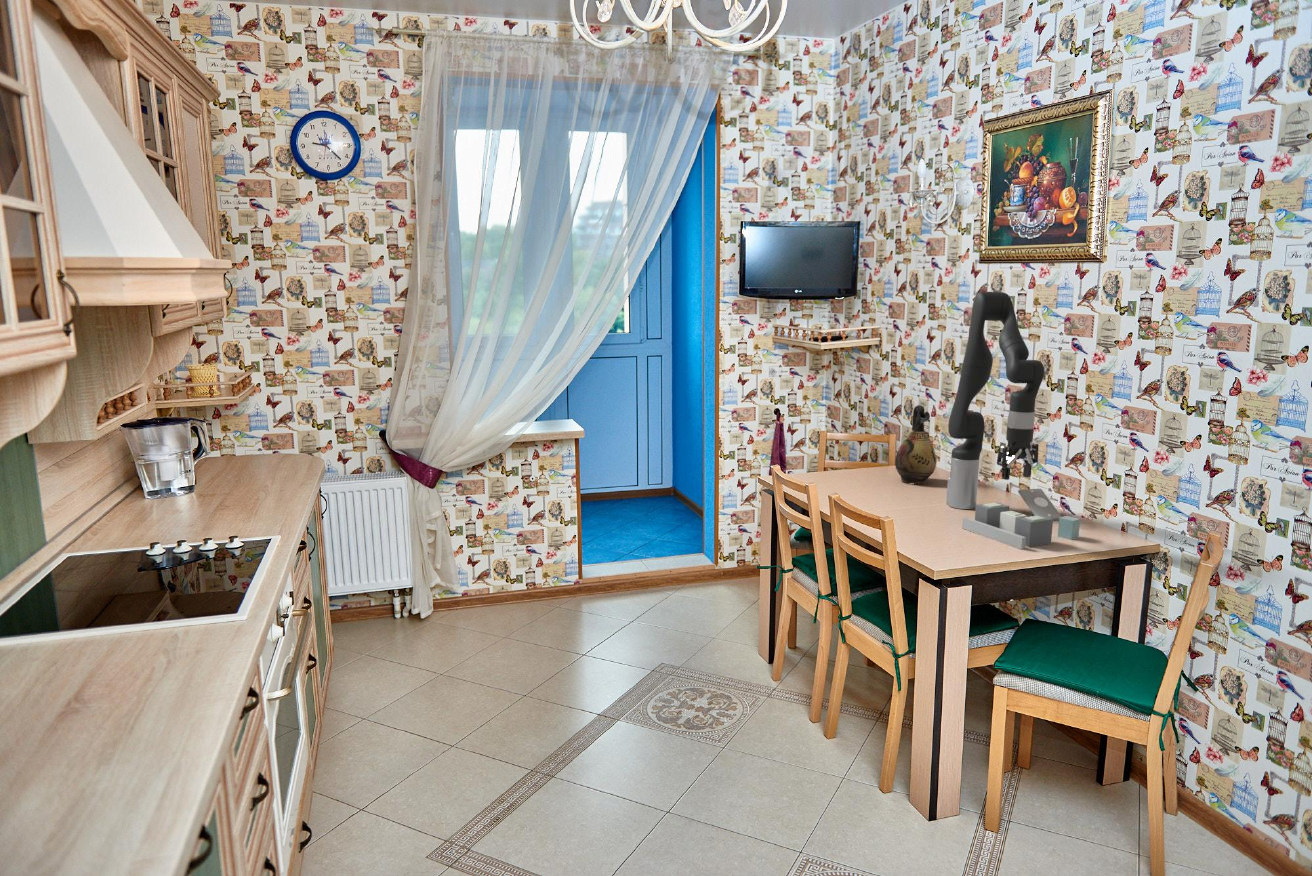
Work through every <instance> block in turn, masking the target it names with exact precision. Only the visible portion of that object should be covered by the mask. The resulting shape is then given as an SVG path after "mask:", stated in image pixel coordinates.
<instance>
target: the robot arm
mask: <svg viewBox="0 0 1312 876" xmlns="http://www.w3.org/2000/svg"><path fill="white" fill-rule="evenodd" d="M986 321H987V322H988V321H993V322H995V321H996V322H997V321H999V322H1001V324H1002V325H1003V326H1002V329H1001V331H1000V334H999V337H998V345H999V346H998V347H999V348H1000V351H1001V353H1002V355H1003V357H1004V361H1005V376H1006V379H1007V380H1008V381H1009V382H1010V383H1013V384H1025V386H1024V388H1022V389H1020V390H1016V391H1013V392H1011V394H1010V400H1009V410H1008V415H1007V422H1006V423H1007V425H1006V435H1005V438H1006V441H1007V445H1006V446H1004V445H999V446H998V451H997V457H996V458H997V460H996V465H998V466H999V467H1000V466H1001V479H1003V480H1006V481H1008V480H1010V476H1011V468H1010V467H1011V466H1012V464H1013V463H1015V462H1016V460H1022V462H1023V463H1024V464H1023V470H1022V471H1023V472H1022V473H1023V474H1022V475H1023V477H1024V478H1031V475H1032V468H1033V465H1034V464H1038V461H1039V445H1040V444H1038V443H1034V442H1033V441H1034V432H1035V431H1034V430H1035V420H1036V419H1035V418H1036V417H1035V408H1036V399H1037V396H1038V393H1039V389H1040V387H1041V385H1042V382H1043V379H1044V377H1045V366H1044V364H1043V363H1042V361H1040V360H1038V359H1028V358H1029V356H1030V352H1029V349H1028V346H1027V344H1026V343H1025V341H1024V338H1023V337H1022V335H1021V332H1020V329H1019V325H1018V321H1017V316H1016V312H1015V307H1014V304H1013V301H1012V298H1011V297H1010V295H1009V294H1008V293H1006V292H1000V291H979V292H978V293H976V295H975V296H974V299H973V303H972V306H971V315H970V321H969V322H970V323H969V332H968V338H967V343H966V348H965V352H964V356H963V361H962V365H961V370H960V378H959V381H958V387H957V392H956V394H955V398H954V402H953V404H952V405H953V406H952V409H951V412H950V415H949V417H948V418H949V419H948V425H947V426H948V427H947V428H948V433H949V436H950V437H951V438H952V439H957V440H959V439H961V440H965V441H964V442H963V443H962V444H960V445H959V446H956V447H954V448H953V449H952V450H951V459H950V460H951V462H950V474H949V475H950V476H949V477H947V486H946V487H947V488H946V489H947V490H946V502H945V504H946V505H948V507H951V508H955V509H958V510H959V509H960V510H973V509H976V505H977V500H978V499H977V497H978V487H979V486H978V485H979V474H980V473H979V472H980V471H979V469H980V460H981V459H980V457H981V453H982V449H983V444H984V443H983V442H984V437H985V435H984V434H985V427H986V426H985V419H984V416H983V414H982V413H981V412H979V411H969V408H970V405H971V403H972V402H973V400H974V398H975V397H976V396H977V395H978V394H979V393H980V391H981V390H982V389H983V388H984V387H985V386H986V384H987V383H988V381H989V380H990V376H991V373H992V368H993V363H994V358H993V354H992V352H991V350H990V347H989V345H988V343H987V340H986V338H985V334H984V333H985V330H984V327H985V323H986Z"/></svg>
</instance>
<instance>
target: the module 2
mask: <svg viewBox="0 0 1312 876" xmlns="http://www.w3.org/2000/svg"><path fill="white" fill-rule="evenodd" d="M1080 526H1081V518H1079V517H1078V518H1077V517H1073V516H1069V515H1065V516H1062V517H1060V518H1059V520H1058V526H1057V527H1058V528H1057V537H1059V538H1062V539H1067V540H1070V541H1073V540H1075V539H1079V536H1080Z"/></svg>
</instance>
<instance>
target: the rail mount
mask: <svg viewBox="0 0 1312 876" xmlns="http://www.w3.org/2000/svg"><path fill="white" fill-rule="evenodd" d="M1006 511H1010V505H1006V504H1003V503H1000V502H991V503H985V504H984V503H981V504H976V508H975V511H974V519H973V518H969V517H962V526H961V529H962V530H965V529H966V530H965V531H967V532H970V531H971V532H972V533H973V534H976V533H977V534H976V535H979V534H980V535H979V536H982V537H985V538H988V539H990V538H991V539H990V540H994V541H996V540H997V541H996V542H999V543H1002V542H1003V543H1002V544H1004V545H1007V544H1008V546H1010V545H1011V547H1013V546H1014V547H1013V548H1017V549H1019V550H1026V547H1027V548H1031V547H1036V546H1043V545H1048V544H1049V545H1051V543H1052V539H1053V538H1052V534H1053V525H1054V524H1053V523H1054V520H1053V519H1051V518H1047V517H1044V516H1041V515H1038V516H1034V515H1033V516H1032V515H1031V516H1027V517H1023V518H1018V519H1017V532H1016V534H1015V533H1012V532H1009V531H1006V530H1003V529H1000V528H999V527H1000V514H1001V512H1006ZM971 532H970V533H971ZM1030 546H1031V547H1030Z"/></svg>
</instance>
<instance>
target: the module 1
mask: <svg viewBox="0 0 1312 876" xmlns="http://www.w3.org/2000/svg"><path fill="white" fill-rule="evenodd" d="M1023 517H1028V516H1027V515H1026V514H1023V513H1020V512H1017V511H1013V510H1009V511H1006V512H1001V514H1000V527H999V528H1000V529H1003V530H1006V531H1009V532H1012V533H1015V534H1016V532H1017V519H1018V518H1023Z"/></svg>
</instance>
